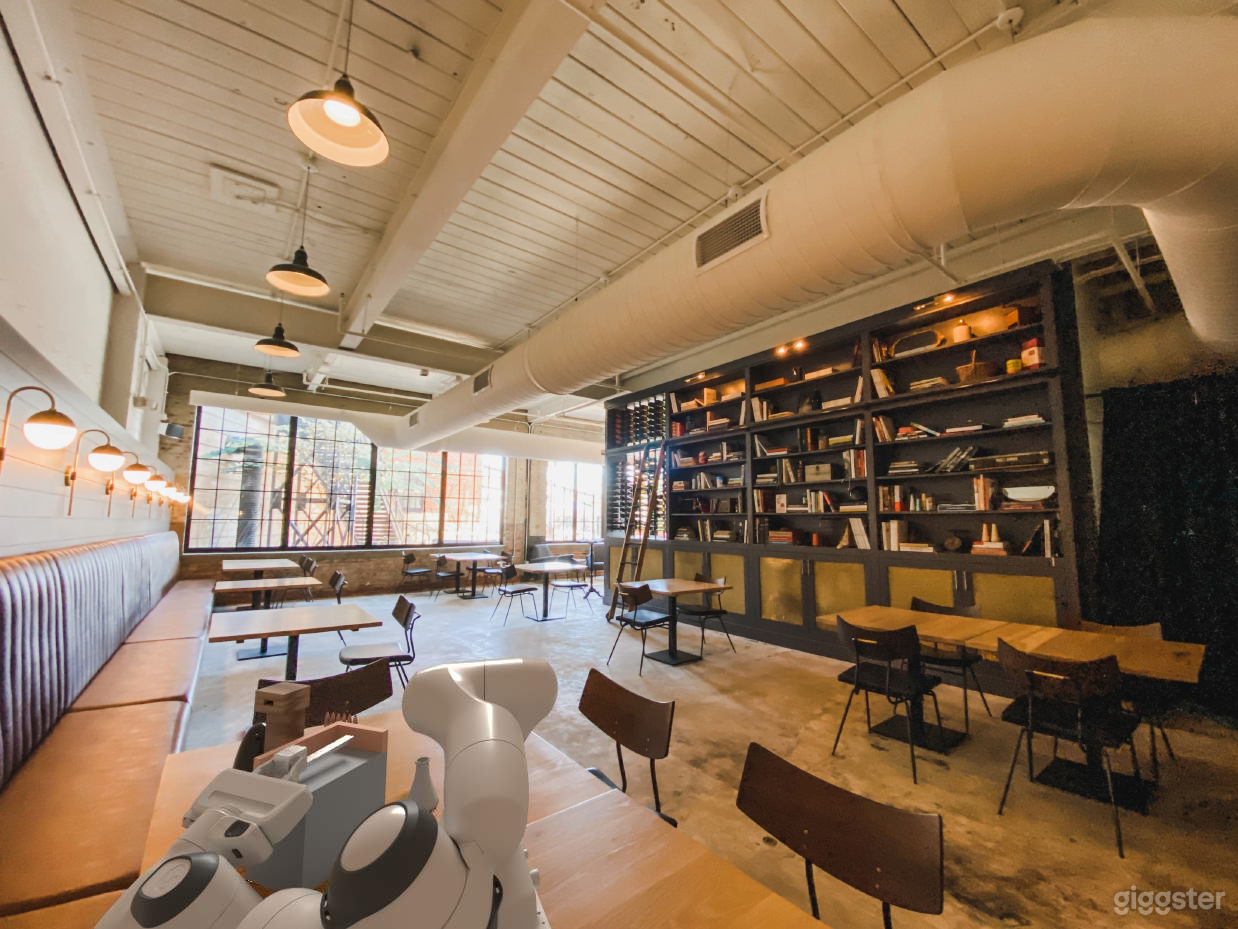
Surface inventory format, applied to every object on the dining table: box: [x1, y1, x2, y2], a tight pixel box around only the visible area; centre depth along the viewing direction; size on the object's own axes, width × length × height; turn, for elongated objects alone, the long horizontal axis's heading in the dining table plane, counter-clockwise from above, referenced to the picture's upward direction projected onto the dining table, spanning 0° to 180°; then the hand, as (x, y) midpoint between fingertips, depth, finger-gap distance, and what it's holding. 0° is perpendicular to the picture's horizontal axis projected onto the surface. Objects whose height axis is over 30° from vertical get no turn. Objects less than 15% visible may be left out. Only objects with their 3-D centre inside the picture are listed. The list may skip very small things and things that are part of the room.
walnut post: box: [253, 681, 311, 753], centre depth 105 cm, size 8×12×29 cm, turn 70°
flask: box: [406, 755, 440, 812], centre depth 113 cm, size 7×7×10 cm
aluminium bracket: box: [274, 735, 354, 779], centre depth 96 cm, size 14×4×4 cm, turn 160°
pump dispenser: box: [232, 721, 266, 773], centre depth 120 cm, size 10×10×15 cm
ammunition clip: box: [323, 711, 359, 728], centre depth 135 cm, size 11×2×12 cm, turn 77°
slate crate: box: [244, 746, 388, 892], centre depth 97 cm, size 18×14×16 cm
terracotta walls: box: [253, 721, 389, 777], centre depth 98 cm, size 18×14×4 cm
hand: (293, 757), depth 91 cm, fingers closed on aluminium bracket, 3 cm apart
